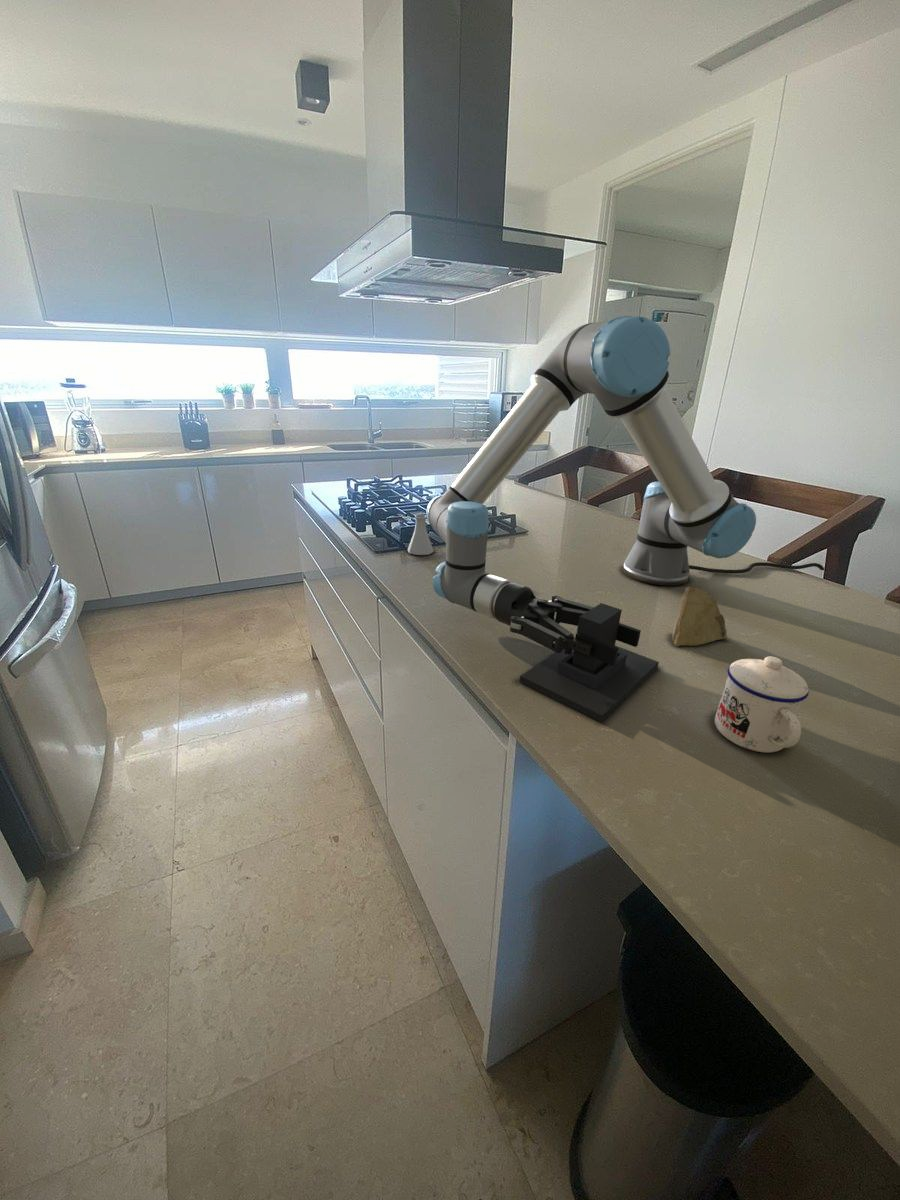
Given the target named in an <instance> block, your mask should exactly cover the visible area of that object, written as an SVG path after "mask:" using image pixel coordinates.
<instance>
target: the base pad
mask: <svg viewBox="0 0 900 1200" xmlns="http://www.w3.org/2000/svg"><path fill="white" fill-rule="evenodd" d="M615 647H618V653H617V659H616V664H615V665H613V666H612V665H610V664H608V665H607V666H606V667H604V668H603V669H602V670H601V671H600V672H598V673H597V674H596V675H594V674H592V673H590V672H587V671H585V670H583V669H580V668H578V667H576V666H573V665H572V661H573V655H574V650H573V649H572V651H571V654H569V655H567V654H564V651H565V649H562V652H561V653H557V652H554V653H551V655H549V656H547V657H546V658H544V659H543V660H542V661H540V662H539V663H536V664H535V665H534V666H532V667H530V669H528V670H526V671H525V672H524V673H522V674H520V675H519V683H521V684H522V685H525V686H527V687H528V688H530V689H533V690H534V691H537V692H539V693H541V694H543V695H545V696H547V697H549V698H551V699H553V700H555V701H557V702H559V703H561V704H563V705H565V706H567V707H569V708H571V709H573V710H575V711H578V712H580V713H582V714H583V715H586V716H588V717H590V718H592V719H593V720H596V721H598V722H600V723H602V722H603V721H604V720H606V718H608V716H609V715H611V714H612V713H613V712H614V710H616V709H617V708H618V707H619V706H620V705H621V704H622V703H623V702H624V701H625V700H626V699H628V698H629V696H631V695H632V693H633V692H634V691H636V690H637V688H638V687H639V686H640V685H642V684H643V683H644V682H645V681H646V680H647V679H648V678H649V677H650V676H651V675H652V674H653V673H654V672H655V671H656V670H657V669H658V668H659V664H660V662H659V661H658V660H655V659H652V658H649V657H647V656H644V655H642V654H639V653H636V652H633V651H632V650H629V649H626V648H623V647H620V646H617V645H615Z"/></svg>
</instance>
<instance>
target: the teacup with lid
mask: <svg viewBox="0 0 900 1200" xmlns="http://www.w3.org/2000/svg"><path fill="white" fill-rule="evenodd" d="M783 664H784V663H783V661H782V660H781V659H780V658H778V657H776V656H772V655H769V656H766V657H764V659H759V658H758V659H757V658H741V659H738V660H735V661H734V662H732V663H731V664H730V665H729V666H728V668H727V678H726V681H725V685H724V687H723V690H722V694H721V698H720V701H719V703H718V707H717V710H716V713H715V716H714V724H715V728H716V729H717V731H718V732H719V733H720V734H721V735H722V736H724V737H725V738H726V739H727V740H729V741H730V742H731V743H733V744H735V745H737V746H739V747H741V748H744V749H746V750H750V751H753V752H758V753H759V752H760V753H775V752H779V751H781V750H783V749H786V748H787V749H788V748H792V747H794V746H795V745H797V743H798V742H799V741H800V739H801V736H802V725H801V723H800V720H799V717H798V715H799V712H800V710H801V708H802V705H803V703H804V701H805V700H806V699H807V698H808V696H809V694H810V693H809V692H810V691H809V686H808V684H807V681H806V680H805V679H804V678H803V677H802V676H801V675H800V674H799V673H797V672H795V671H794V670H792V669H790V668H788V667H786V666H784V665H783Z"/></svg>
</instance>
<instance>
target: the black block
mask: <svg viewBox="0 0 900 1200" xmlns="http://www.w3.org/2000/svg"><path fill="white" fill-rule="evenodd" d="M593 607H594V608H592V609H591V610H589V611H587V612H586V613H584V614H583V615H581V616H579V622H578V626H577V629H576V634H577V633H581V634H584V635H586V636H589V637H591V638H594V639H597V640H599V641H602V642H605V643H607V644H610V645H612V646H616V642H617V640H616V637H617V632H618V627H619V623H621V622H620V621H621V615H622V612H623V610H622V609H620V608H617V607H615V606H611V605H610V604H609V605H608V604H605V603H602V602H600V603H599V604H597V605H596V606H593ZM572 665H573V666H576V667H578V668H580V669H583V670H585V671H587V672H590V673H592V674H594V675H596V674H597V673H598V672H600V671H601V670H602V669H603V668H604V667H606V666H607V665H608V664H607V663H605V662H603V661H600V660H598V659H595V658H593V657H590V656H588V655H585V654H583V653H580V652H578V651H575V650H574V655H573V661H572Z"/></svg>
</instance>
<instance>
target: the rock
mask: <svg viewBox="0 0 900 1200" xmlns="http://www.w3.org/2000/svg"><path fill="white" fill-rule="evenodd" d="M717 603H718V602H717V599H716V598H714V597H713V596H712V595H710V594H709V593H707V592H706V591H705V590H703V589H701V588H698V587H691V586H687V587H685V590H684V592H683V595H682V598H681V601H680V607H679V615H678V617H677V620H676V622H675V625H674V628H673V632H672V637H671V638H672V640H671V641H672V643H673V644H674V646H675V647H680V646H691V647H692V646H695V647H696V646H701V645H705V644H708V643H713V642H715V641H718V640H719V641H721V640H725V639H727V637H728V635H727V631H728V630H727V628H726V621H725V617H724V615H723V614H722V613H721V610H720V608H719V606H718V604H717Z"/></svg>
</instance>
